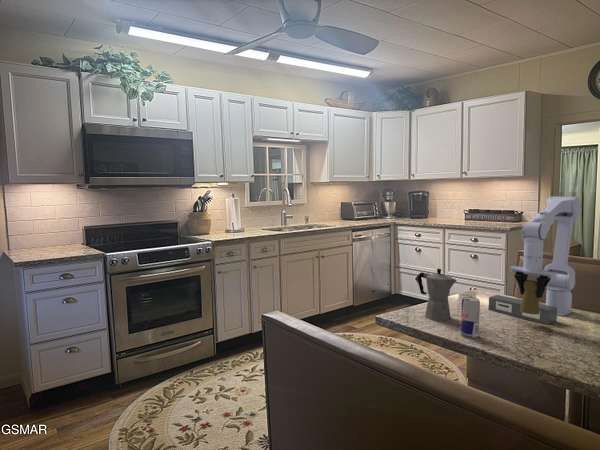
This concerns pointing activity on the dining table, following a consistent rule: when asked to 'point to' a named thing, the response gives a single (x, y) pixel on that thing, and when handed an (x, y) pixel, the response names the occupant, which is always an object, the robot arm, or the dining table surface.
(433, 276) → the coffeepot
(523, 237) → the robot arm
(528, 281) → the cork
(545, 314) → the dark gray slotted box
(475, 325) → the energy drink
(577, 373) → the dining table surface
